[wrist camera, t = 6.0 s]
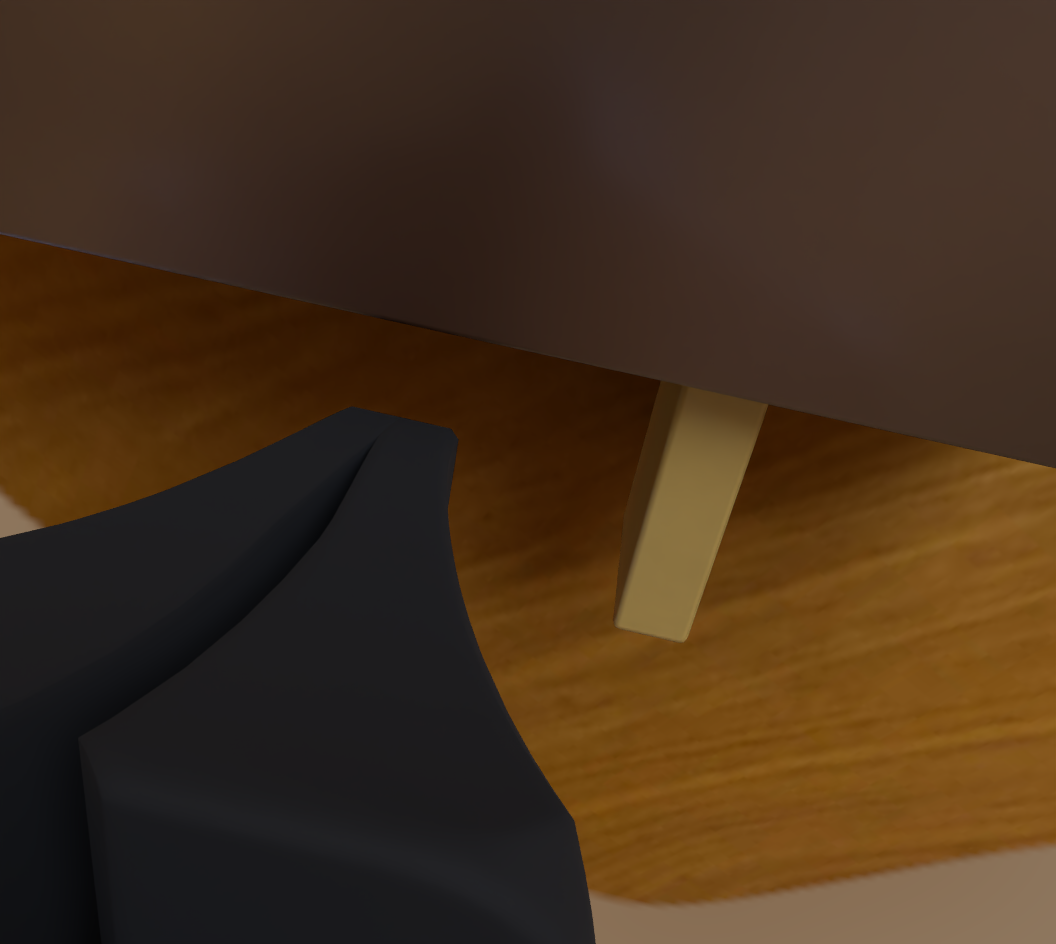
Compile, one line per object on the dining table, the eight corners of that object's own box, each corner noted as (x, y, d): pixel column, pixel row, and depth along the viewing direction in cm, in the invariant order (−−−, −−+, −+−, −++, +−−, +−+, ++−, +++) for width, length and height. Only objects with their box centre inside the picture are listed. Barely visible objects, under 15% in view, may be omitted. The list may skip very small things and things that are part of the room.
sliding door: (460, 442, 15) (396, 580, 12) (503, 169, 13) (439, 241, 10) (853, 531, 15) (905, 698, 12) (968, 268, 13) (1076, 380, 9)
